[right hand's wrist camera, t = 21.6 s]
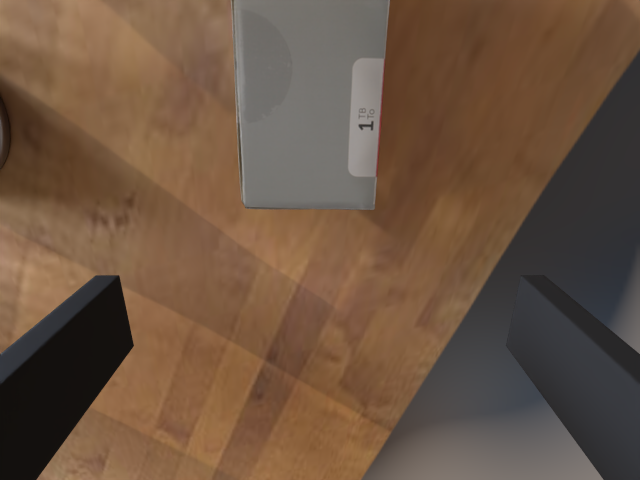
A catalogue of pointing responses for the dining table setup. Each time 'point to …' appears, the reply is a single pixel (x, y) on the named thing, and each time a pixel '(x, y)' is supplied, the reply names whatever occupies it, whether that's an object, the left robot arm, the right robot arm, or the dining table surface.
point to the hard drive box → (309, 101)
